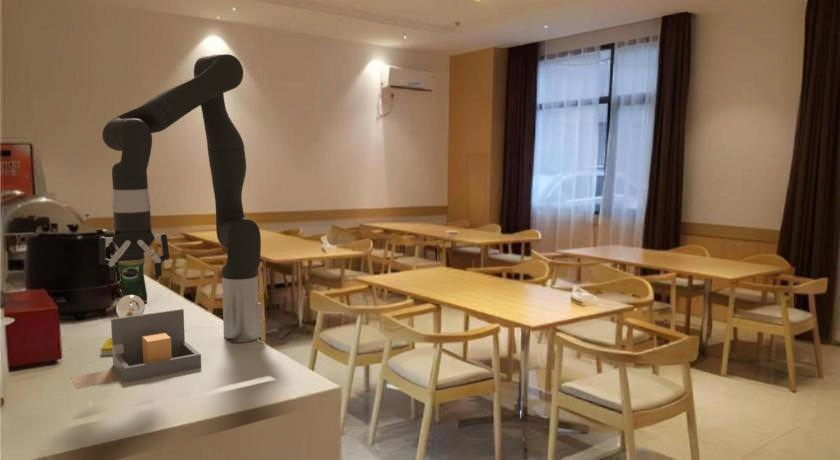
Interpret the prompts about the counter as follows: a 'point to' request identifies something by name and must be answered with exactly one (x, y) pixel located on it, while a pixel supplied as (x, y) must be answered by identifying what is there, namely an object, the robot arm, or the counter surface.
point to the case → (131, 349)
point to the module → (156, 347)
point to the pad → (94, 379)
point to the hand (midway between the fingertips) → (136, 280)
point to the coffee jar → (132, 275)
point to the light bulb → (130, 306)
